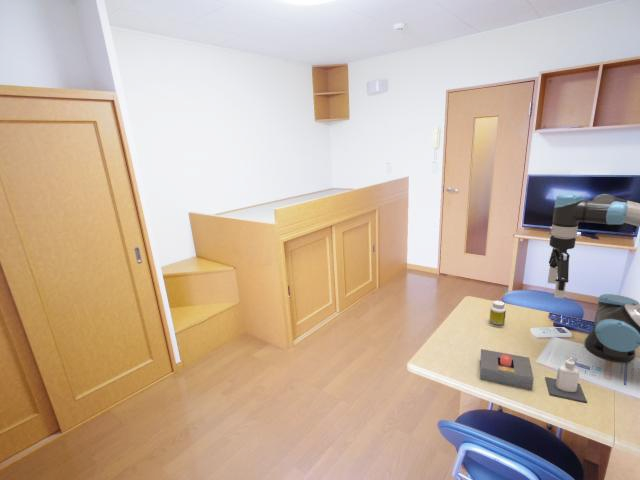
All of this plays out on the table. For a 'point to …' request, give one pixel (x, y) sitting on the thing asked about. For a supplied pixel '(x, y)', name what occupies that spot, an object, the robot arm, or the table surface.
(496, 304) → the pill bottle
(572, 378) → the eye dropper bottle
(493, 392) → the table surface
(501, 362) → the plunger
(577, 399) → the mat
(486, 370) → the grey flat block
